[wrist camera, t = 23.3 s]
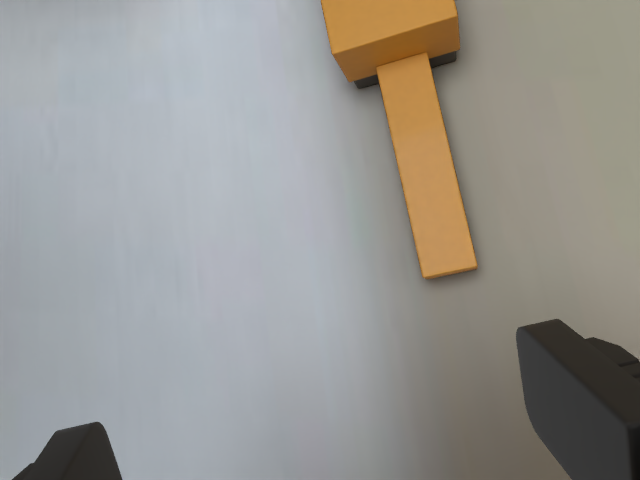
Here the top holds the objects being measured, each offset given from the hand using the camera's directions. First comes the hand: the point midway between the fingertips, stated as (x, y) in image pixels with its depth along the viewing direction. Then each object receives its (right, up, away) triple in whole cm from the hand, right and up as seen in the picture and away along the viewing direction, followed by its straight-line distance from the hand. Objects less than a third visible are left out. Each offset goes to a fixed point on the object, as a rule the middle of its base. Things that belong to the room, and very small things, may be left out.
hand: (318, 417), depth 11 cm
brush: (+5, +10, +18) cm, 21 cm away
